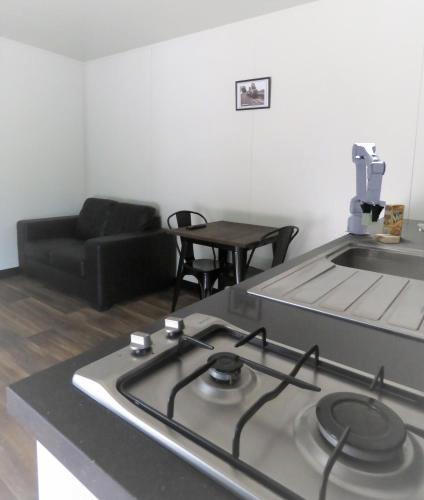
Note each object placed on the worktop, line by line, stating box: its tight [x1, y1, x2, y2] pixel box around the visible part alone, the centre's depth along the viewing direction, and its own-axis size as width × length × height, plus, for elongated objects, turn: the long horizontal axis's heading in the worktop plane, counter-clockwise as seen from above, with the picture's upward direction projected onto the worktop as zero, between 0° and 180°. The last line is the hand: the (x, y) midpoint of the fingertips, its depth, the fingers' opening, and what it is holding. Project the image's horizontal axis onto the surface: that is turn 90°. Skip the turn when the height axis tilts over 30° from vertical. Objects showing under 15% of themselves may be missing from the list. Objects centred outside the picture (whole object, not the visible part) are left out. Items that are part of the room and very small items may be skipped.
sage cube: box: [361, 213, 380, 227], centre depth 167 cm, size 5×5×5 cm
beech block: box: [374, 233, 401, 244], centre depth 165 cm, size 7×7×3 cm
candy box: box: [381, 203, 406, 238], centre depth 175 cm, size 9×4×15 cm, turn 118°
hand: (370, 220), depth 167 cm, fingers closed on sage cube, 5 cm apart
